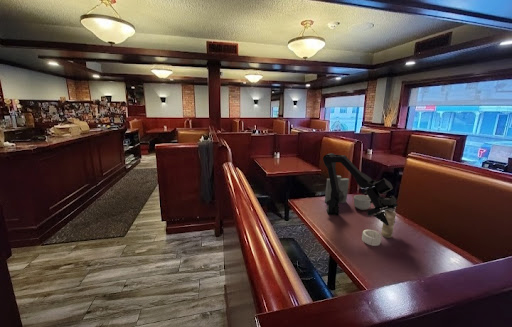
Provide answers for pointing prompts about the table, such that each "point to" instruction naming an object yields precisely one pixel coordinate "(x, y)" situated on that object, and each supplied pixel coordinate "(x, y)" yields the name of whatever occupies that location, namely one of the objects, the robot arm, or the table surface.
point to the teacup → (362, 202)
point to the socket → (371, 237)
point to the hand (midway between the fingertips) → (391, 224)
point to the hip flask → (342, 186)
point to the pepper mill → (388, 229)
